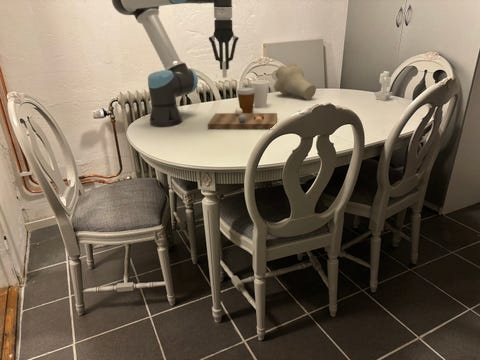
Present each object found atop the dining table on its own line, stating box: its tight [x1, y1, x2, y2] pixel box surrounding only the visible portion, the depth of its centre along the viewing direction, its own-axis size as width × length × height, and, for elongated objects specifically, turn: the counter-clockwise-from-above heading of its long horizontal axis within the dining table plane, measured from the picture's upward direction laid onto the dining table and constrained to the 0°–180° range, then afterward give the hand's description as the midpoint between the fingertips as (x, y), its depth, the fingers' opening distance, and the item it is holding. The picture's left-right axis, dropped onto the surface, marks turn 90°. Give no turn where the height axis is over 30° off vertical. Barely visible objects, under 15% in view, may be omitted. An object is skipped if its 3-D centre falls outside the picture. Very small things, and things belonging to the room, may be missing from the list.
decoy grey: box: [238, 114, 246, 122], centre depth 156 cm, size 3×3×3 cm
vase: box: [273, 62, 317, 101], centre depth 204 cm, size 22×22×28 cm
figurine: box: [373, 70, 394, 101], centre depth 192 cm, size 7×9×15 cm
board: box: [207, 112, 278, 130], centre depth 163 cm, size 30×18×2 cm, turn 83°
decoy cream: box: [234, 107, 242, 115], centre depth 167 cm, size 3×3×3 cm
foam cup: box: [250, 79, 270, 109], centre depth 189 cm, size 10×9×13 cm
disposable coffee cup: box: [236, 86, 255, 113], centre depth 179 cm, size 10×10×12 cm
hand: (224, 77), depth 157 cm, fingers closed
